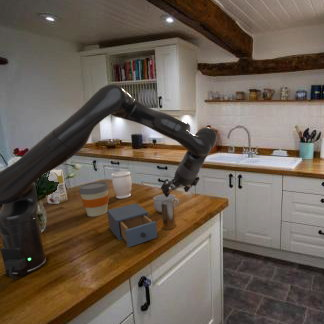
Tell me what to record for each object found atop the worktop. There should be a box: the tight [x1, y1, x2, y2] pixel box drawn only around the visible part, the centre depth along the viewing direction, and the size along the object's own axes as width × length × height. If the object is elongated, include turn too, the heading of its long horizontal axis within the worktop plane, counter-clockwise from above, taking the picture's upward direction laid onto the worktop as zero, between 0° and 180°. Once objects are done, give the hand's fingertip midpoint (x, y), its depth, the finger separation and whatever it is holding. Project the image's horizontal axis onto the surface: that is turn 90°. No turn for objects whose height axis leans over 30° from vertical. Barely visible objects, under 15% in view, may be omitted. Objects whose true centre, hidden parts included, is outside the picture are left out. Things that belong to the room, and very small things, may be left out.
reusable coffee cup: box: [78, 181, 110, 217], centre depth 126 cm, size 13×13×15 cm
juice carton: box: [46, 168, 68, 205], centre depth 142 cm, size 8×9×19 cm
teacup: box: [152, 193, 180, 214], centre depth 128 cm, size 14×11×8 cm
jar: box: [111, 170, 133, 200], centre depth 151 cm, size 11×10×15 cm
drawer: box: [119, 215, 159, 248], centre depth 101 cm, size 15×11×7 cm
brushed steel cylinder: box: [161, 200, 176, 230], centre depth 110 cm, size 5×5×12 cm
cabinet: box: [107, 202, 150, 241], centre depth 109 cm, size 15×13×9 cm
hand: (175, 192), depth 101 cm, fingers open, 8 cm apart
